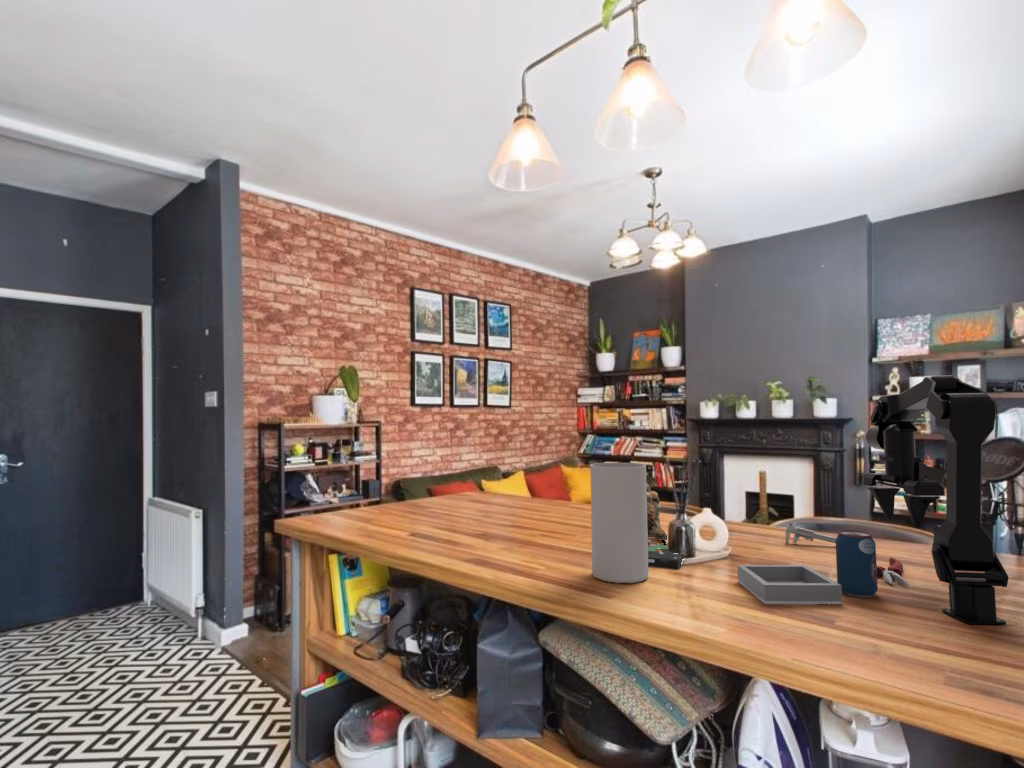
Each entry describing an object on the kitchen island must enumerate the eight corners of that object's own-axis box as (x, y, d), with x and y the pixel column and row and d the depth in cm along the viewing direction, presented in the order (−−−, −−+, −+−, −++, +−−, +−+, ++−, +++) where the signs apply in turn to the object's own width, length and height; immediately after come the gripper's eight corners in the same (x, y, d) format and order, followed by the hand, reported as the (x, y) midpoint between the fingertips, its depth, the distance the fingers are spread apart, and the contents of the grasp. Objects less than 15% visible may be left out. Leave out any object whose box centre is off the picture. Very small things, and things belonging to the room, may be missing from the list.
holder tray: (842, 604, 105) (841, 585, 106) (765, 604, 106) (764, 584, 106) (805, 582, 120) (805, 565, 120) (738, 581, 120) (737, 565, 121)
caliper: (786, 544, 156) (785, 522, 156) (785, 544, 157) (784, 521, 157) (870, 550, 148) (869, 526, 149) (869, 549, 149) (868, 525, 150)
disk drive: (680, 572, 131) (688, 556, 144) (680, 560, 131) (688, 545, 144) (636, 567, 135) (648, 552, 148) (636, 555, 135) (648, 542, 149)
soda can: (884, 599, 108) (881, 536, 109) (845, 597, 109) (843, 535, 110) (868, 588, 115) (865, 529, 116) (832, 587, 116) (829, 528, 117)
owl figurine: (664, 551, 149) (662, 487, 150) (621, 548, 154) (619, 485, 154) (672, 537, 166) (670, 479, 167) (632, 534, 170) (631, 478, 171)
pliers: (869, 588, 117) (868, 575, 117) (842, 564, 136) (841, 553, 136) (933, 593, 113) (932, 580, 113) (896, 567, 133) (895, 556, 133)
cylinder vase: (604, 566, 134) (602, 462, 135) (655, 573, 127) (653, 463, 129) (583, 579, 123) (581, 466, 125) (638, 588, 117) (635, 468, 118)
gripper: (970, 454, 113) (974, 532, 112) (909, 449, 132) (912, 515, 131) (913, 455, 114) (917, 532, 113) (860, 449, 132) (864, 515, 132)
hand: (903, 523), depth 122 cm, fingers open, 9 cm apart
